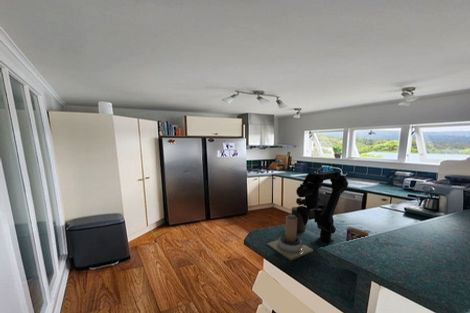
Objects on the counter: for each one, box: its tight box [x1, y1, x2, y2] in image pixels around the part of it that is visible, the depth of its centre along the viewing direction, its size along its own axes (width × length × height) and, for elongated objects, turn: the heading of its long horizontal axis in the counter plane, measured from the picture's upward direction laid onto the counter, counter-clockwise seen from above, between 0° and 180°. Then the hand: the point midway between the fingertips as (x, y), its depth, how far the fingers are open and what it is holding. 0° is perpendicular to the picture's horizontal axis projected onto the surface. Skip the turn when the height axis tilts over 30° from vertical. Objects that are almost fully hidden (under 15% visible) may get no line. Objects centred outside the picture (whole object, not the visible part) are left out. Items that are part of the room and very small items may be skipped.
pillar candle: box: [290, 206, 307, 233], centre depth 138 cm, size 10×10×15 cm
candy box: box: [345, 226, 370, 242], centre depth 103 cm, size 9×4×15 cm, turn 47°
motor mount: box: [267, 234, 314, 261], centre depth 113 cm, size 17×17×5 cm
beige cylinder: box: [284, 213, 298, 242], centre depth 112 cm, size 6×6×14 cm
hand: (310, 223), depth 114 cm, fingers open, 9 cm apart
